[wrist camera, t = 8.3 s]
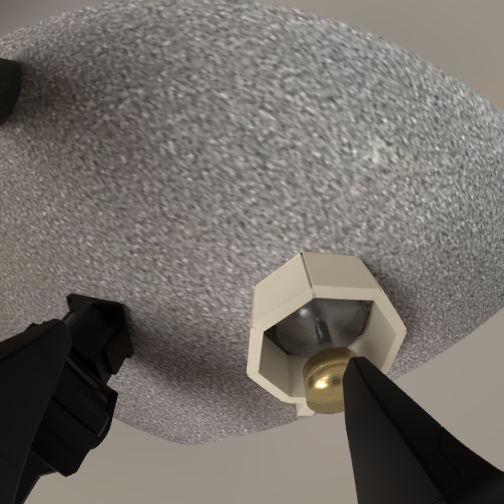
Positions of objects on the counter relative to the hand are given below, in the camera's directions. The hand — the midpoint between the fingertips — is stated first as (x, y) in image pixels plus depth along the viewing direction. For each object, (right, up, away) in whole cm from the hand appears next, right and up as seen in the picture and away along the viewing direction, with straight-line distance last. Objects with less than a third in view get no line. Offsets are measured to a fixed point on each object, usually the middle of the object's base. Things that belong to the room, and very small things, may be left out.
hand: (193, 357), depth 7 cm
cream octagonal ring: (+7, -3, +15) cm, 17 cm away
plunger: (+7, -2, +14) cm, 16 cm away
